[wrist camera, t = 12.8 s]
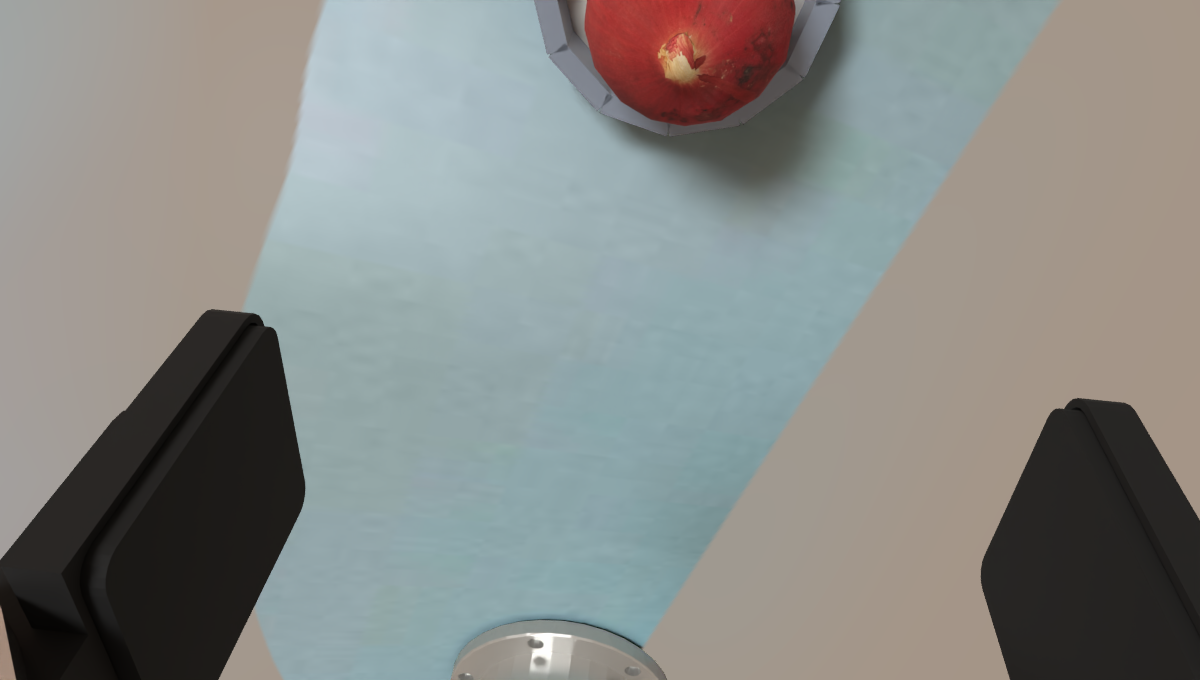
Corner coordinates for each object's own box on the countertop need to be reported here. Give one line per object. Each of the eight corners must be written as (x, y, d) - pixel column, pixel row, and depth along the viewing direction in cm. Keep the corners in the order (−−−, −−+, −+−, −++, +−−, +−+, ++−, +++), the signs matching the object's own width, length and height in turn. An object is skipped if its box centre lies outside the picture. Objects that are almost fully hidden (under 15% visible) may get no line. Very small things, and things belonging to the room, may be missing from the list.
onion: (823, -52, 27) (859, 31, 21) (717, 104, 31) (720, 218, 24) (659, -161, 26) (643, -107, 20) (566, 14, 29) (526, 109, 23)
